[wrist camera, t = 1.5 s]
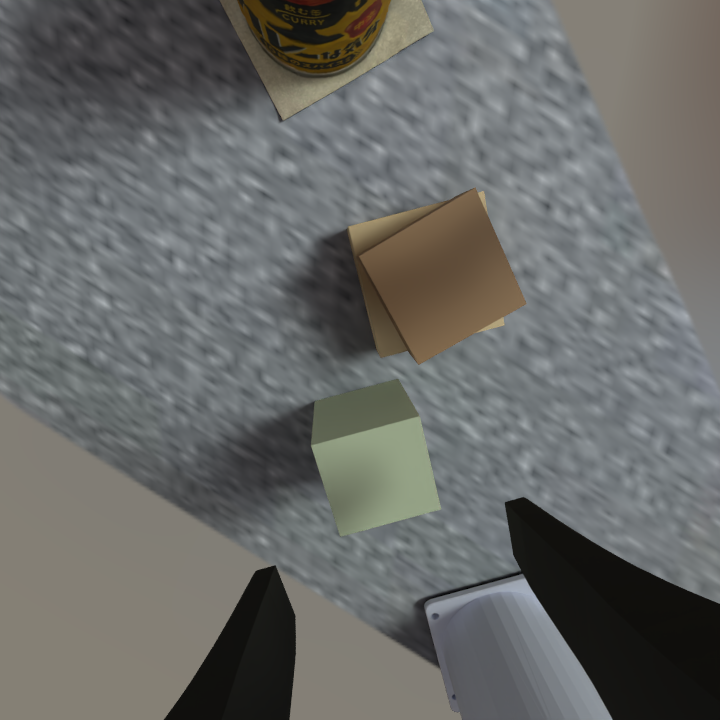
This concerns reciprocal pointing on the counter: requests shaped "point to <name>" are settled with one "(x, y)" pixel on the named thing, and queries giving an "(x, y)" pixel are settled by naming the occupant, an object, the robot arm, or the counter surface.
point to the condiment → (321, 42)
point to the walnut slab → (442, 276)
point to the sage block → (373, 457)
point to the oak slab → (379, 320)
